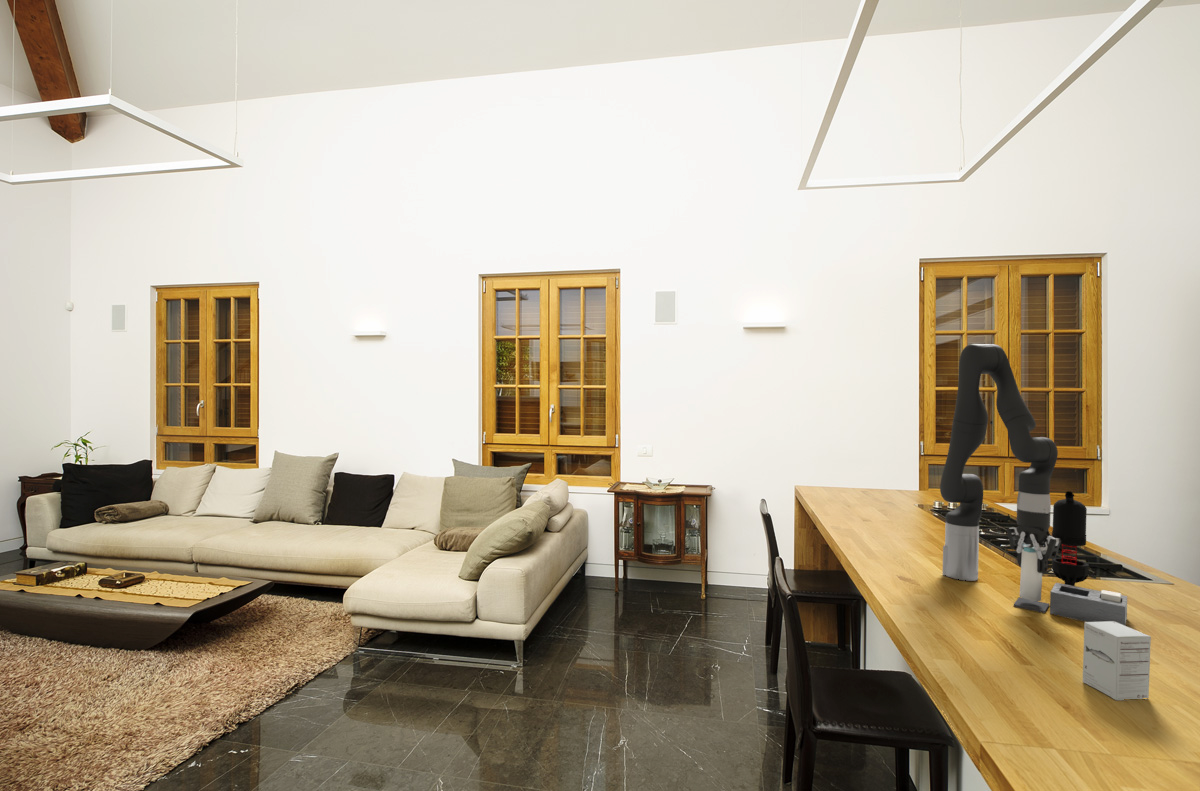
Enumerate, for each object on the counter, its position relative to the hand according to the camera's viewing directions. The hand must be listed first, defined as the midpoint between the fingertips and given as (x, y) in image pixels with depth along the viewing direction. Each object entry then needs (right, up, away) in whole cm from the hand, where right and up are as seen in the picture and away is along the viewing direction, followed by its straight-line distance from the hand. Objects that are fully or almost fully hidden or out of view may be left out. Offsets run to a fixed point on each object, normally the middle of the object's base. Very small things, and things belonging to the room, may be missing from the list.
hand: (1032, 569), depth 162 cm
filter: (+26, -11, +19) cm, 34 cm away
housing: (+10, -11, -7) cm, 16 cm away
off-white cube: (+13, -8, -10) cm, 18 cm away
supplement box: (-18, -11, -46) cm, 51 cm away
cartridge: (-1, -8, 0) cm, 8 cm away
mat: (0, -10, 0) cm, 10 cm away
